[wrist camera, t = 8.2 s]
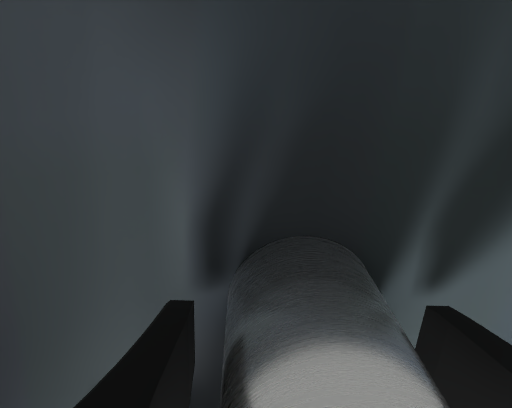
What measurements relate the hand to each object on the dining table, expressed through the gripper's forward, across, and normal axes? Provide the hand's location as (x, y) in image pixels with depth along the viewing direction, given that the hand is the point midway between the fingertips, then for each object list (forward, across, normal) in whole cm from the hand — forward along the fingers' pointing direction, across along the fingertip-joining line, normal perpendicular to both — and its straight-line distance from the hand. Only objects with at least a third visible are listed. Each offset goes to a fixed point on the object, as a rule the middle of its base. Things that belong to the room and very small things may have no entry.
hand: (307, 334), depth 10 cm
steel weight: (+1, 0, 0) cm, 1 cm away
